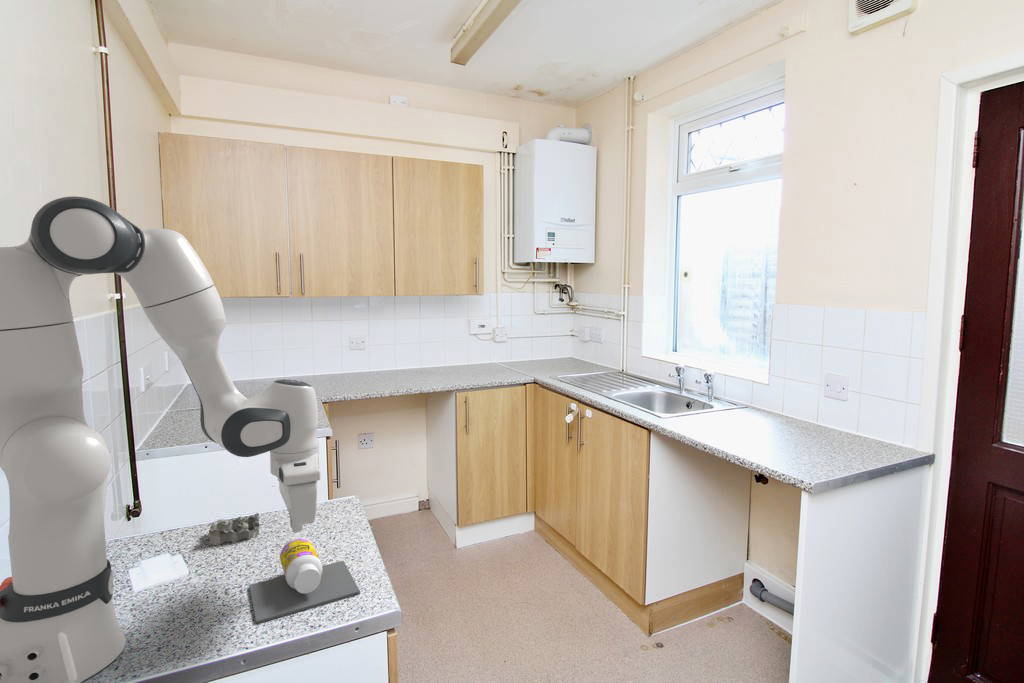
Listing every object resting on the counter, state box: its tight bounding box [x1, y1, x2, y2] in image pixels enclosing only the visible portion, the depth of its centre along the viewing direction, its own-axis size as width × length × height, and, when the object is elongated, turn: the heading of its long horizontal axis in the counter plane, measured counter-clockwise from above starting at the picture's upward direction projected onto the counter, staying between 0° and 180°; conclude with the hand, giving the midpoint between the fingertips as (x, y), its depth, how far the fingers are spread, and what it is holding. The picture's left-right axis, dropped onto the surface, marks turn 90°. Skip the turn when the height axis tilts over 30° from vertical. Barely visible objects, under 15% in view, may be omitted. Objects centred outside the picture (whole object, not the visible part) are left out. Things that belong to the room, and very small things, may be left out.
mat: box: [249, 560, 361, 625], centre depth 101 cm, size 18×13×1 cm
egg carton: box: [207, 512, 260, 546], centre depth 123 cm, size 11×8×4 cm
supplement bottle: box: [279, 536, 323, 594], centre depth 103 cm, size 7×7×13 cm
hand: (296, 529), depth 104 cm, fingers closed
